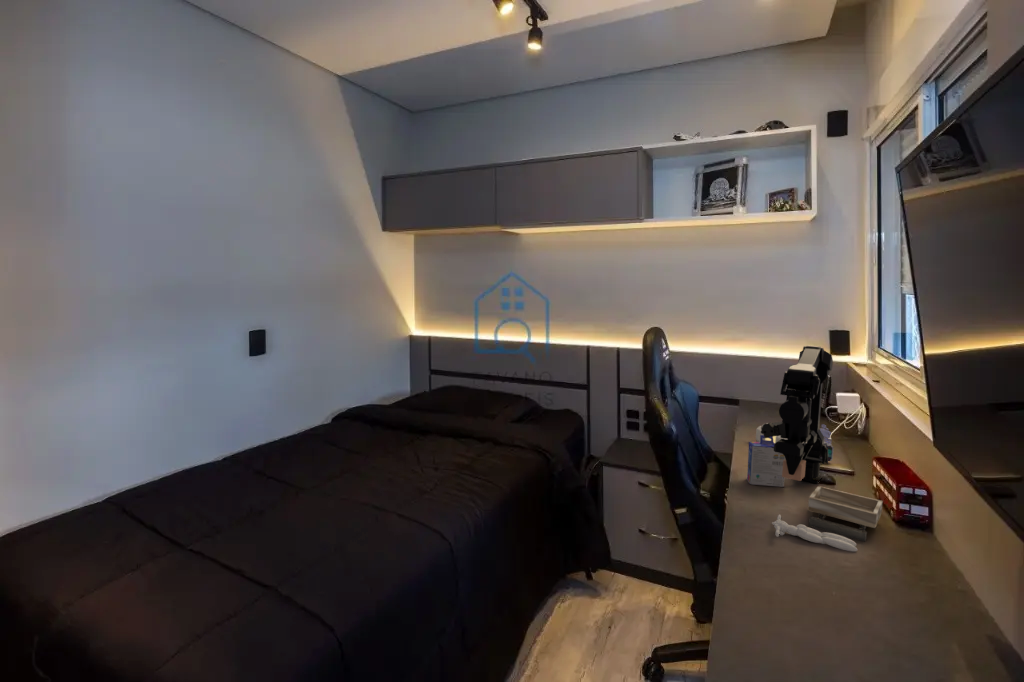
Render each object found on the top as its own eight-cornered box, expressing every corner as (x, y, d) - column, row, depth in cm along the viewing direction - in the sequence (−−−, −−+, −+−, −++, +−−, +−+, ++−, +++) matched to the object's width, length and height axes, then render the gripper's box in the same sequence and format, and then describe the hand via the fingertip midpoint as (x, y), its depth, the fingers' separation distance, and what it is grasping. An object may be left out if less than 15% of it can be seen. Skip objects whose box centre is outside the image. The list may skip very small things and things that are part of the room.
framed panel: (832, 493, 154) (832, 486, 154) (881, 505, 146) (882, 498, 146) (808, 525, 134) (809, 518, 133) (865, 541, 126) (865, 533, 126)
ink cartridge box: (779, 480, 163) (783, 435, 162) (785, 487, 158) (788, 440, 156) (745, 478, 165) (748, 433, 164) (749, 484, 160) (752, 438, 158)
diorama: (832, 464, 179) (835, 426, 178) (807, 467, 177) (810, 429, 175) (778, 442, 203) (780, 409, 202) (755, 444, 201) (757, 410, 199)
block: (786, 472, 145) (787, 456, 145) (804, 476, 142) (806, 460, 142) (782, 476, 142) (783, 460, 141) (800, 481, 139) (801, 464, 138)
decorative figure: (855, 532, 127) (774, 508, 136) (860, 555, 117) (771, 527, 125) (852, 546, 128) (771, 520, 136) (856, 569, 117) (768, 540, 126)
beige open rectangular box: (817, 503, 146) (818, 485, 145) (880, 519, 136) (882, 500, 135) (807, 515, 138) (809, 497, 137) (874, 534, 128) (876, 514, 128)
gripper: (775, 404, 152) (772, 456, 154) (754, 416, 139) (751, 473, 140) (819, 411, 145) (814, 465, 147) (801, 424, 131) (797, 485, 133)
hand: (793, 472), depth 142 cm, fingers closed on block, 4 cm apart
